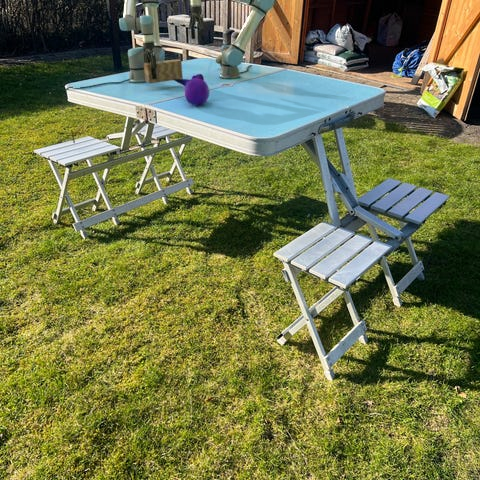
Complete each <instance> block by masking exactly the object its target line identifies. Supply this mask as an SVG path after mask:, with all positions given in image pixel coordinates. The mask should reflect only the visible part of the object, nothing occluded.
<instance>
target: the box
mask: <svg viewBox="0 0 480 480" xmlns="http://www.w3.org/2000/svg"><path fill="white" fill-rule="evenodd" d="M156 64H157V68H156V76H157V79H153V78H152V69H151V68H152V66H151V63H144V72H145V80H146V82H145V83H147V84H149V85H150V84H157V83H165V82H170V81H171V82H172V81H174V79H184V77H183V67H182V65H183V63H182V60H180V59H178V58H177V59H169V60H168V59H167V60H164V61H159V62H156Z"/></svg>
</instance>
